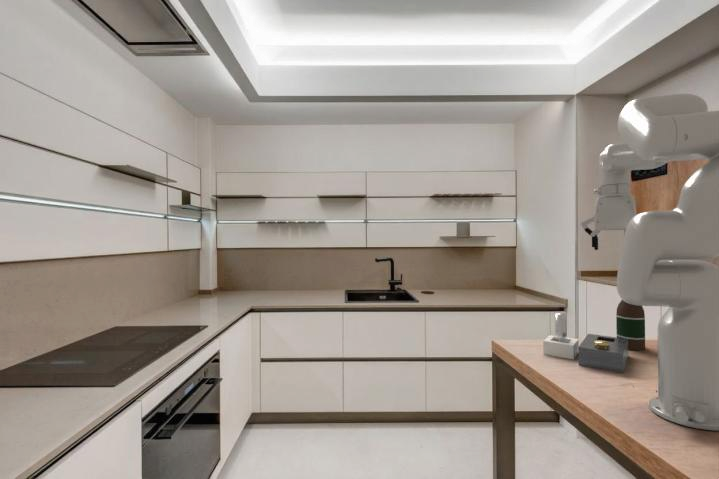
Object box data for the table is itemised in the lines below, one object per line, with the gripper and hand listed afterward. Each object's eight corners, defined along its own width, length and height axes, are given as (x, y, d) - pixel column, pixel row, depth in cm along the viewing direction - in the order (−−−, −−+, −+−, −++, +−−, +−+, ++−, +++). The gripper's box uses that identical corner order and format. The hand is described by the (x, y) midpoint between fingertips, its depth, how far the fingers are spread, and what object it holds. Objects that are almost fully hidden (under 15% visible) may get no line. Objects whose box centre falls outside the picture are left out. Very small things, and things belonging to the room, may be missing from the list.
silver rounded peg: (565, 355, 110) (565, 315, 110) (554, 353, 112) (553, 314, 112) (567, 352, 112) (567, 313, 112) (556, 350, 114) (556, 312, 114)
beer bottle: (622, 353, 114) (621, 275, 113) (611, 346, 121) (610, 273, 121) (651, 355, 112) (650, 276, 112) (638, 347, 119) (637, 273, 119)
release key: (609, 368, 99) (608, 344, 99) (593, 365, 101) (593, 342, 101) (610, 364, 102) (610, 341, 102) (595, 361, 104) (595, 339, 104)
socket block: (623, 377, 95) (622, 353, 95) (578, 368, 102) (578, 347, 102) (628, 359, 108) (627, 338, 108) (588, 352, 115) (588, 333, 115)
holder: (573, 362, 106) (573, 345, 106) (543, 357, 112) (543, 340, 112) (578, 355, 113) (578, 339, 113) (549, 350, 118) (549, 335, 118)
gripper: (579, 193, 111) (580, 250, 111) (652, 187, 101) (653, 250, 101) (582, 195, 117) (583, 249, 117) (651, 190, 107) (652, 249, 107)
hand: (615, 249), depth 109 cm, fingers open, 9 cm apart
